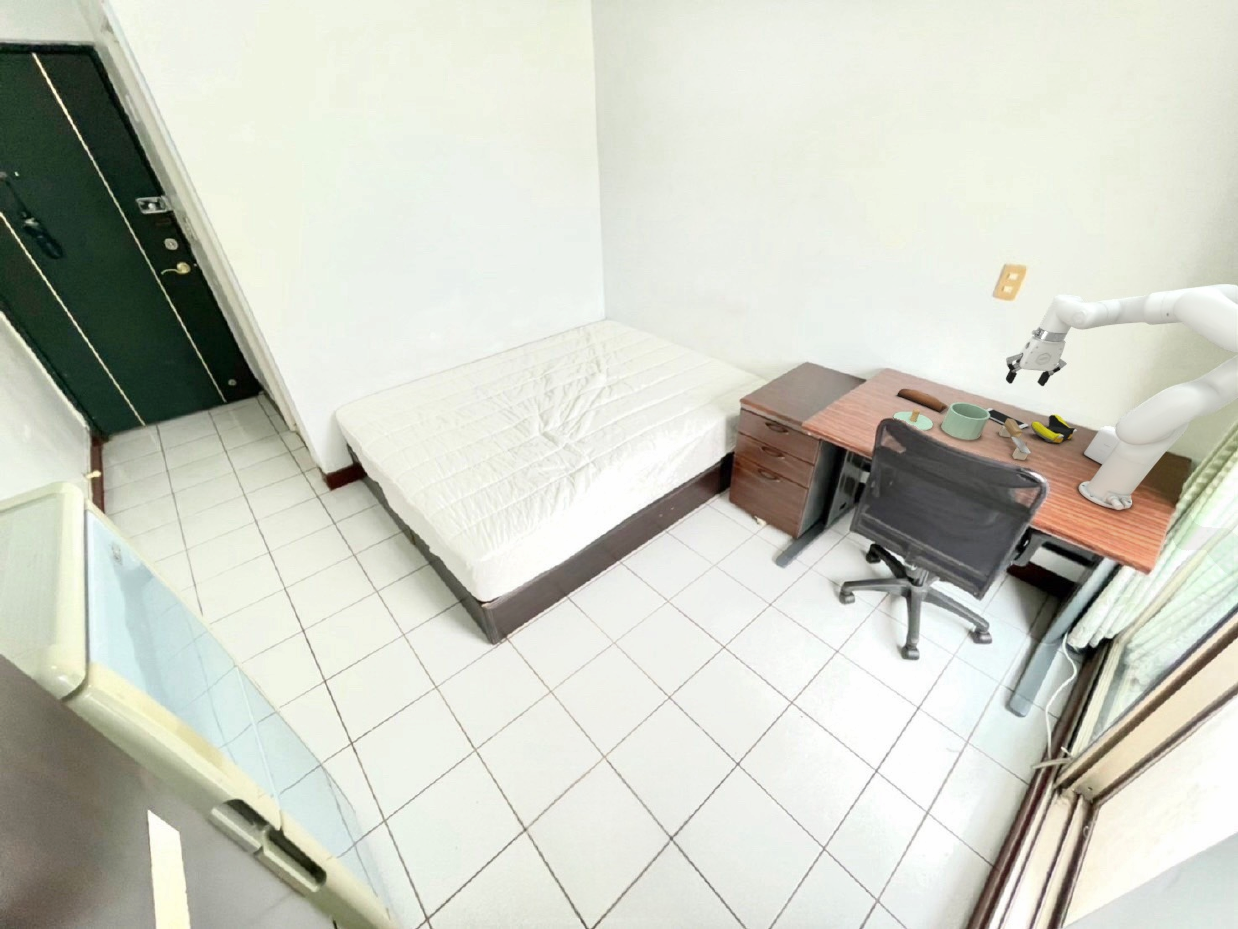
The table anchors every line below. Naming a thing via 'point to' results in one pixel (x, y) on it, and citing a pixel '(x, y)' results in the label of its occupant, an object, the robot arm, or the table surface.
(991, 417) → the smartphone
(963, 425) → the pot
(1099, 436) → the photo printer
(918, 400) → the sunglasses case
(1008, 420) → the knife
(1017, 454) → the pair of cream blocks
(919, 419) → the lid
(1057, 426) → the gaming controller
